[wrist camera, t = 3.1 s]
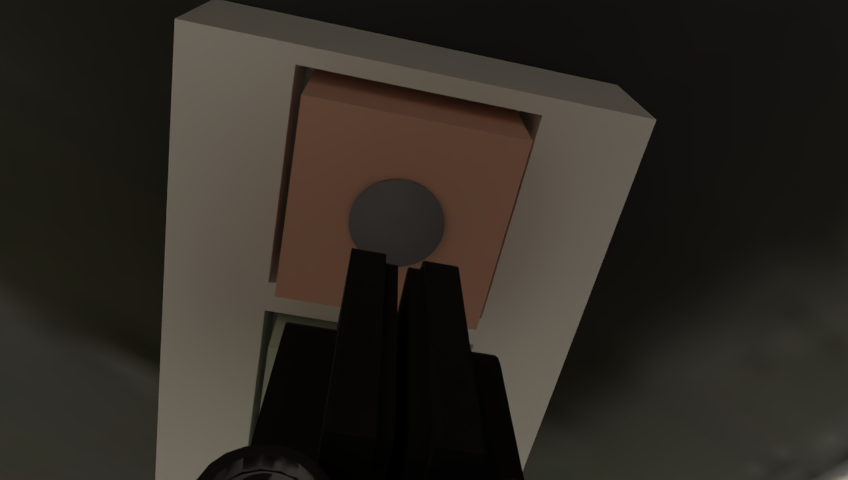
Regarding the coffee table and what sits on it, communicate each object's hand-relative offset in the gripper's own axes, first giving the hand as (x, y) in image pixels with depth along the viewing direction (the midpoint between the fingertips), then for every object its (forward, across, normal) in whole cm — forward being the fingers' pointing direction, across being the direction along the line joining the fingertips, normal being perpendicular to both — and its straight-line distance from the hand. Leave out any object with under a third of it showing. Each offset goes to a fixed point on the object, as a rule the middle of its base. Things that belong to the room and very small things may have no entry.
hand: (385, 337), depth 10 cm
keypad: (+8, 0, +6) cm, 10 cm away
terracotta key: (+6, 0, 0) cm, 6 cm away
